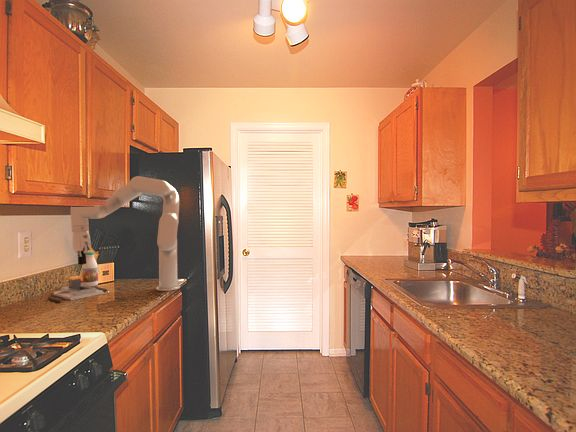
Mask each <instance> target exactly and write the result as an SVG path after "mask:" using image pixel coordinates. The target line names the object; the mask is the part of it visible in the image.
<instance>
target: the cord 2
mask: <svg viewBox="0 0 576 432" xmlns="http://www.w3.org/2000/svg"><path fill="white" fill-rule="evenodd" d="M93 287H94V288H96V289H97V290H101V291H103V293H104V292H107V291H108V289H106V288H104V287H103V288H102V287H101V286H100V287H99V286H97V285H96V286H93Z"/></svg>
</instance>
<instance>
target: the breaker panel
mask: <svg viewBox="0 0 576 432" xmlns="http://www.w3.org/2000/svg"><path fill="white" fill-rule="evenodd" d="M94 287H95V286H92V287H90V286H86V285H83V283H81V290H76V289H72V288H69V285H67V286H61V287H60V290H58V291H53V296H56V297H58V298H63V299H65V300H67V301H75V300H81V299H85V298H91V297H95V296H98V295H103V294H104V292H103V291H101V290H97V289H96V288H94Z"/></svg>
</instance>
